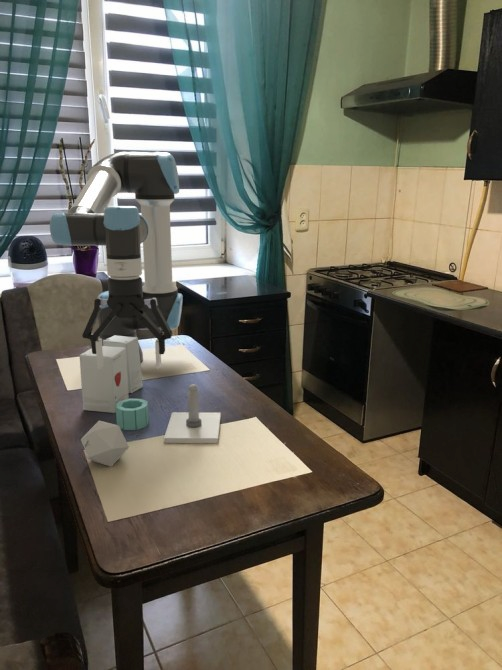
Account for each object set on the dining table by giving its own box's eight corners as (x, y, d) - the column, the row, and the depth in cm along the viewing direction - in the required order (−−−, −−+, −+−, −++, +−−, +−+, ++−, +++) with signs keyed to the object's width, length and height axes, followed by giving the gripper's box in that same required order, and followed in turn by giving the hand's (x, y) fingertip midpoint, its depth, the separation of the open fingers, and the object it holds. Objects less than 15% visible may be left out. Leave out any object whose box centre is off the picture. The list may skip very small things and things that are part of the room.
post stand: (172, 416, 134) (171, 374, 131) (220, 417, 134) (220, 374, 131) (164, 442, 121) (162, 395, 118) (217, 443, 121) (217, 396, 118)
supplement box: (115, 414, 136) (111, 357, 132) (82, 410, 137) (77, 354, 133) (130, 400, 144) (127, 346, 140) (99, 397, 146) (95, 344, 142)
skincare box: (143, 387, 153) (140, 337, 149) (130, 394, 148) (127, 342, 144) (118, 383, 157) (115, 333, 153) (105, 390, 151) (102, 339, 147)
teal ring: (121, 417, 134) (120, 398, 132) (150, 417, 134) (149, 398, 132) (114, 430, 127) (113, 410, 125) (145, 430, 127) (144, 410, 126)
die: (91, 452, 118) (67, 429, 110) (126, 428, 119) (105, 405, 112) (104, 481, 112) (80, 459, 105) (141, 456, 114) (119, 432, 106)
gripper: (63, 279, 117) (71, 372, 122) (178, 279, 117) (181, 372, 123) (74, 273, 124) (80, 361, 130) (182, 274, 124) (184, 362, 130)
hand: (129, 367), depth 126 cm, fingers open, 13 cm apart
